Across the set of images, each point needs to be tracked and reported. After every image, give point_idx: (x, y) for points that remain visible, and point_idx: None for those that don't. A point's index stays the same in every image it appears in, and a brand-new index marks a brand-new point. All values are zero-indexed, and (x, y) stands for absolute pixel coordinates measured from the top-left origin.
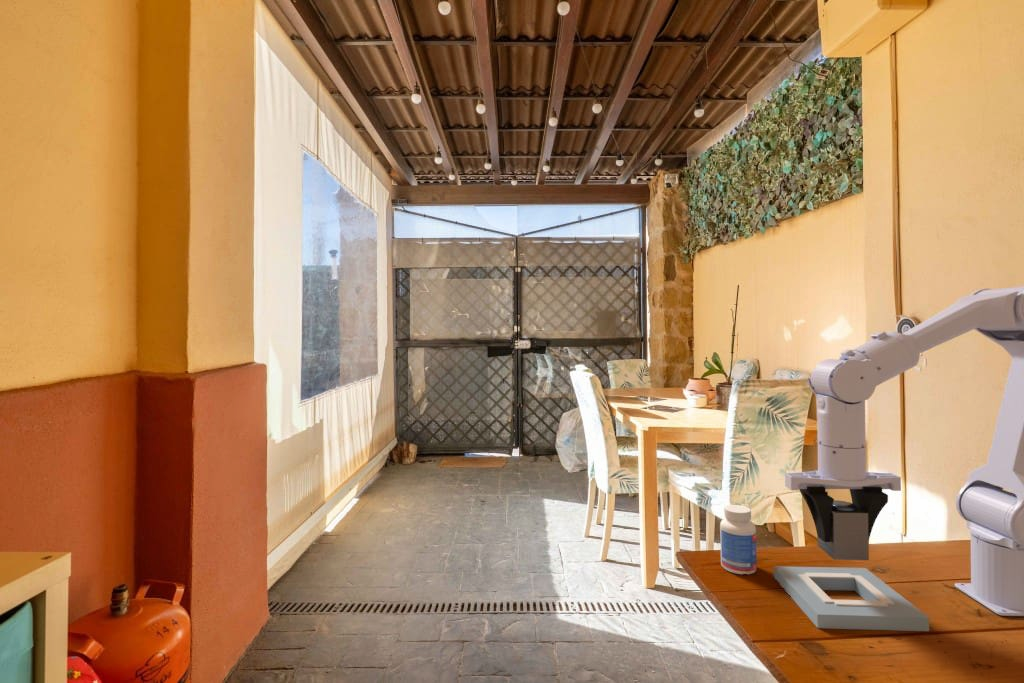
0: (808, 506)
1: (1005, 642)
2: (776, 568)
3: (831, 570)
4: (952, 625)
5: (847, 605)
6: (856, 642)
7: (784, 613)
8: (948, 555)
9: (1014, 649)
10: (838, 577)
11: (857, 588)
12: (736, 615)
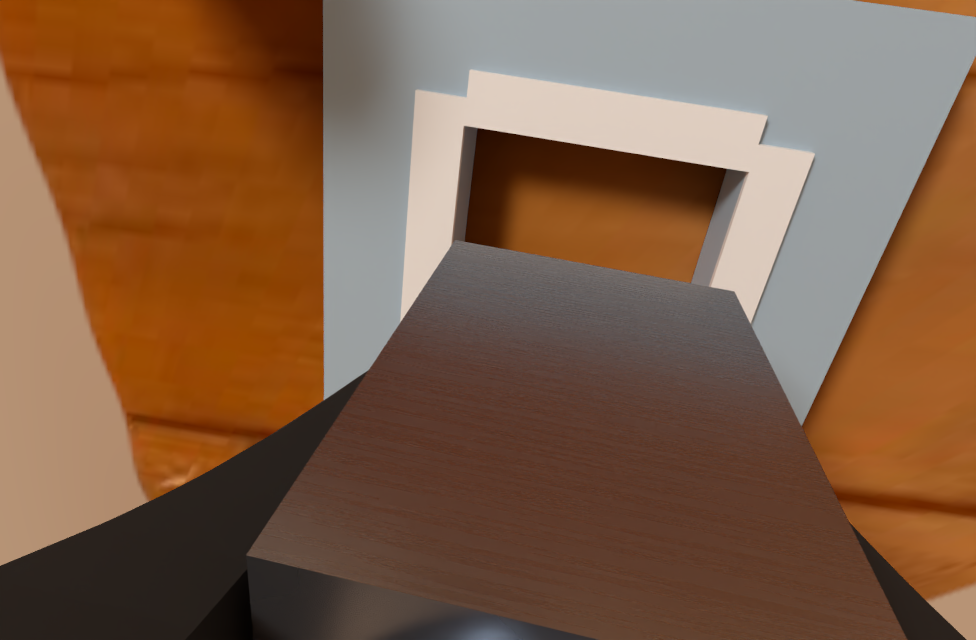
0: (100, 536)
1: (955, 571)
2: None
3: (689, 37)
4: (888, 469)
5: None
6: None
7: (267, 295)
8: None
9: (932, 597)
10: (649, 154)
11: (726, 192)
12: (84, 280)
